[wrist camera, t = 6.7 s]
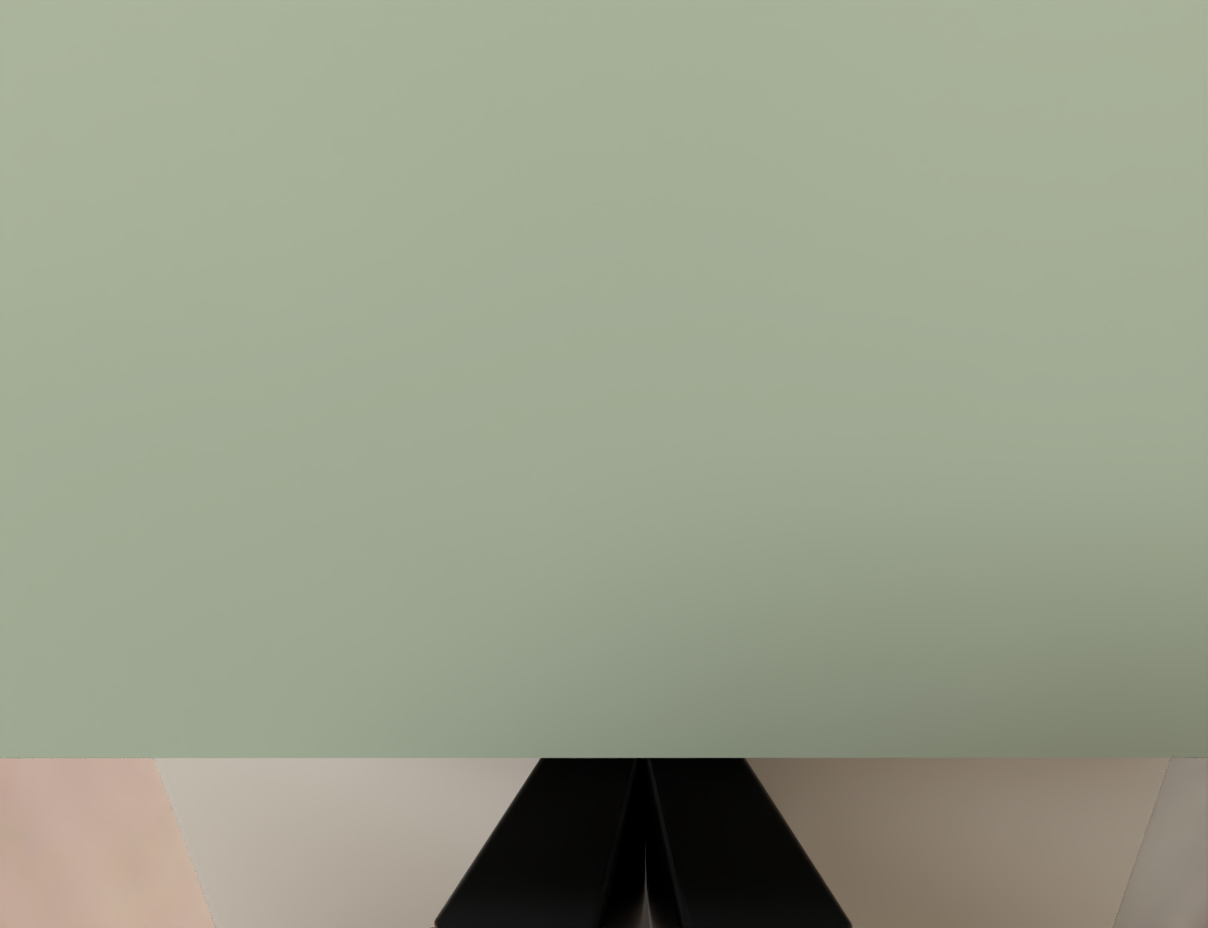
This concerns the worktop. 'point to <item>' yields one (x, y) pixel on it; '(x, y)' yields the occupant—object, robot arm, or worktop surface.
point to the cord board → (823, 800)
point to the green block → (603, 378)
